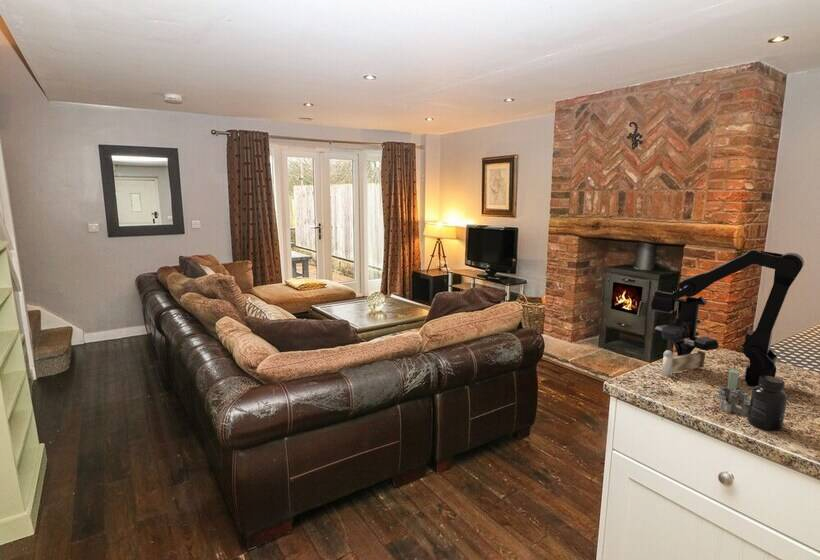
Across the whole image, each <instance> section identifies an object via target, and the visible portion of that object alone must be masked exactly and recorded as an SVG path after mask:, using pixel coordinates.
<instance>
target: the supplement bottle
mask: <svg viewBox="0 0 820 560" xmlns="http://www.w3.org/2000/svg"><path fill="white" fill-rule="evenodd" d="M785 383H786V382H785V380H783V379H782V378H779V377H776V376H775V377H772V376H760V378H759V382H758V384H759V386H756V387H755V386H753V388H752V391H751V396H750V398H751V401H750V407H749V414H748V415H747V422H748V424H750V425H751V426H753V427H755V428H757V429H760V430H763V431H767V432H768V431H769V432H779V431H781V430H782V429H783V425H784V419H785V416H786V415H785V414H786V409H787V404H788V395H787V393H786V392H785V391H783V390H785Z"/></svg>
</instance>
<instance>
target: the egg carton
mask: <svg viewBox="0 0 820 560" xmlns="http://www.w3.org/2000/svg"><path fill="white" fill-rule="evenodd" d="M717 392H718V396H717V399H718V400H719V401H718V404H719V409H720V410H722V411H725V412H726V413H729V414H730V413H738V414H741V416H744V417H746V416H748V414H749V407H750V401H751V396H750V395H749V393H747V392H744V393H743V392H742V391H741V390H740V389H738V390H737V389H736V390H735V389H731V388H728V387H726V386H723V385H721V384H719V386H718V391H717ZM727 399H728V400H727ZM740 401H741V402H743V404H742V405H739V403H740Z"/></svg>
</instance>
